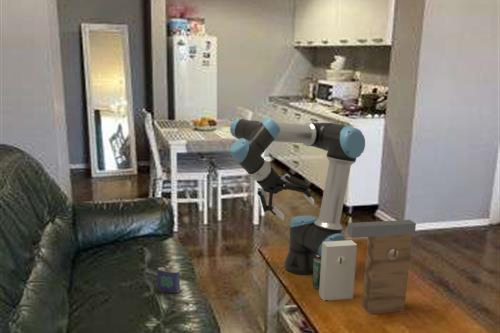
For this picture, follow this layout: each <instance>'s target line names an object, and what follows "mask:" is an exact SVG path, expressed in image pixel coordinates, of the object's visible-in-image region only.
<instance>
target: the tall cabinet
mask: <svg viewBox="0 0 500 333" xmlns="http://www.w3.org/2000/svg"><path fill="white" fill-rule="evenodd" d="M412 239H413V234H410V235H392V236H375V237H367V241H366V242H367V243H366V252H365V254H366V255H365V263H364V265H365V266H364V278H363V288H362V298H361V299H362V300H361V301H362V302H361V307H362V308H363V309H364V310H365V311H366V312H367V314H368V315H373V314H375V315H376V314H384V313H385V314H386V313H396V312H405V306H406V304H405V303H406V296H407V288H408V287H407V284H408V276H409V269H410V268H409V267H410V260H411V259H410V258H411V249H412Z"/></svg>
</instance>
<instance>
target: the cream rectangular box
mask: <svg viewBox="0 0 500 333" xmlns="http://www.w3.org/2000/svg"><path fill="white" fill-rule="evenodd" d="M357 251H358V244H357V243H356V242H355V241H354V240H352V239H349V240H348V239H347V240H345V241H328V242H322V254H321V270H320V286H319V289H318V295H319V297H320V299H321V300H322V299H323V300H322V301H323V302H326V301H325V300H328V301H336V300H337V301H338V300H349V299H353V298H354V290H355V288H354V287H355V277H356V276H355V274H356V266H357V253H358V252H357Z"/></svg>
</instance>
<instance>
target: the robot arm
mask: <svg viewBox="0 0 500 333" xmlns="http://www.w3.org/2000/svg"><path fill="white" fill-rule="evenodd" d="M229 130H230V134H231V136H233V137H234V138H236V139H237V140H236V141H235V142H234V143H233V144H232V145H231V146H230V148H229V154H230V156H231V157H232V158H233V159H234V160H235V162H236V163H237V164H238V165H240V166H241V167H242V168H243V170H245V171H246V173H247V174H248V175H249V176H250V177H251V178H252V179H253V180H254V181H256V183H257V184H258V185H259V186H260V187H258V188H257V195H258V196H259V198H260V202H261V206H262V209H263V210H262V211H263V212H265V213H266V212H267V211H270V212H271V213H272V214H273V215H274V216H277V217H278V218H279V219H280V220H281V221H283V222H284V221H285V214H284V213H283V212H282V211H281V210H280V209H279V208H278V207H277V206H276V205H275V204H273V199H274V198H273V195H274V194H275V195H276V194H278V193H279V192H282V191H283V190H285V191H287V190H288V191H295V192H300V193H301V194H302V196H303V197H304V198H305V199H306V200H307V201H308V203H309V204H311V206H315V200H314V198H313V197H312V193H311V192H310V190H309V189H310V183H309V182H307V181H305V180H303V179H300V178H298V177H295V176H293V175H291V174H290V173H289V172H285V173H284V175H282V176H280V175H279V174H278V173H277V171H276V170H275V169H274V168H273V167H272V166H271V165H270V163H268V161H266V159H264V157H262V155H263V154H264V153H265V151H266V150H267V149H268V148H269V147H270V146H271V144H272V143H274V142H277V143H293V144H294V143H295V144H303V145H304V146H305V147H313V148H317V149H319V150H323V151H325V152H327V153H326V158H327V159H328V161H329V163H328V168H327V171H326V172H327V173H326V179H325V182H324V188H323V195H322V199H321V204H320V205H321V206H320V210H319V214H318V217H316V216H314V215H297V216H295V217H292V218H291V220H290V223H289V242H288V243H289V244H288V245H289V246H288V247H289V248H288V252H287V254H286V257H285V258H284V262H283V263H284V264H283V267H284V269H285V270H286V271H287V272H289V273H292V274H294V275H295V274H296V275H304V276H305V275H313V263H314V260H313V259H314V258H316V257H321V254H322V242H328V241H345V240H346V238H345V236H344V234H342V231H343V226H342V225H341V217H342V213H343V207H344V201H345V197H346V191H347V187H348V183H349V182H348V181H349V177H350V171H351V166H352V165H353V164H355V163H356V161H357V158H359V157H361V156H362V154H363V153H364V151H365V148H366V138H365V135H364V134H363V132H362V131H361V129H358V128H357V127H353V126H350V125H345V124H344V125H343V124H339V123H333V122H306V123H305V124H300V123H290V122H289V123H287V122H277V121H275V120H273V119H272V118H270V117H265V118H264V119H262V120H251V119H250V120H249V119H245V118H236V119H234V120H233V121H232V122H231V124H230V127H229ZM265 192H266V193H269V197H268V205H267V202H266V197H265Z"/></svg>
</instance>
